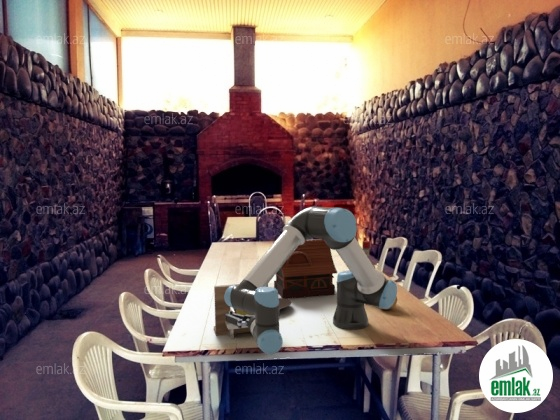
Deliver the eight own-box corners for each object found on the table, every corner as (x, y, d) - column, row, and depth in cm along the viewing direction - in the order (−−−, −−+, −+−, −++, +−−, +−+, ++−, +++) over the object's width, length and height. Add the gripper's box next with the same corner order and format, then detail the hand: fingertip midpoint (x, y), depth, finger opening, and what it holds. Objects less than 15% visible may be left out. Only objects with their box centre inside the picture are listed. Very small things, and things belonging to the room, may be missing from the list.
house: (280, 302, 228) (280, 245, 225) (268, 288, 255) (267, 237, 253) (345, 296, 236) (345, 242, 234) (326, 283, 264) (326, 235, 261)
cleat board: (272, 335, 181) (272, 287, 179) (218, 341, 175) (217, 291, 173) (264, 323, 195) (263, 278, 193) (213, 328, 189) (212, 282, 188)
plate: (260, 298, 236) (260, 291, 236) (303, 307, 218) (303, 300, 218) (221, 311, 214) (221, 303, 214) (265, 323, 197) (265, 314, 196)
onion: (382, 313, 208) (382, 292, 207) (372, 307, 217) (372, 287, 216) (401, 311, 210) (401, 290, 209) (390, 305, 220) (390, 285, 219)
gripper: (224, 342, 148) (216, 321, 169) (296, 333, 155) (280, 314, 175) (223, 320, 147) (215, 302, 168) (296, 312, 154) (280, 296, 174)
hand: (248, 308), depth 171 cm, fingers open, 13 cm apart
